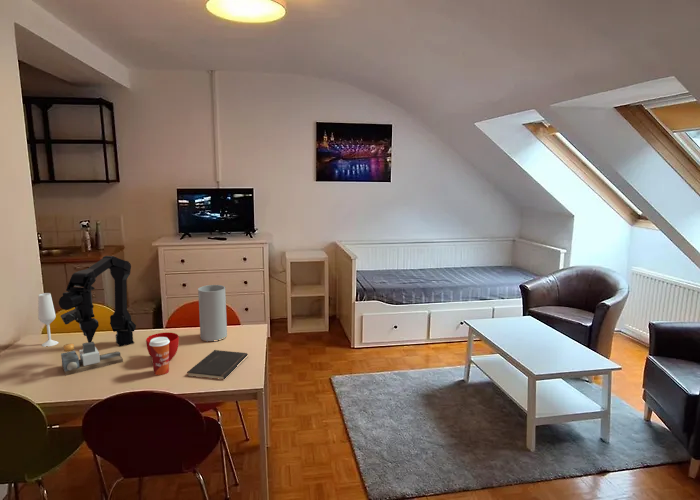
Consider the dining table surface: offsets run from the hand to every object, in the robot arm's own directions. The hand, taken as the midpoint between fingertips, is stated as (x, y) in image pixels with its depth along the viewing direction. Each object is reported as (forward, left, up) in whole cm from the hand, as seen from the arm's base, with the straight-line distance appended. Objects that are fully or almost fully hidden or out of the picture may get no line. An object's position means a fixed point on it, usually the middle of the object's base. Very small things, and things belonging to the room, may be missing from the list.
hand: (87, 338), depth 189 cm
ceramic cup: (-26, +11, -12) cm, 30 cm away
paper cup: (-22, +25, -12) cm, 35 cm away
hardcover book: (-43, +33, -12) cm, 55 cm away
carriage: (0, 0, -10) cm, 10 cm away
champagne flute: (+10, -37, -12) cm, 40 cm away
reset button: (+7, 0, -3) cm, 8 cm away
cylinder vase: (-54, +1, -12) cm, 55 cm away
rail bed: (-1, 0, -12) cm, 12 cm away
